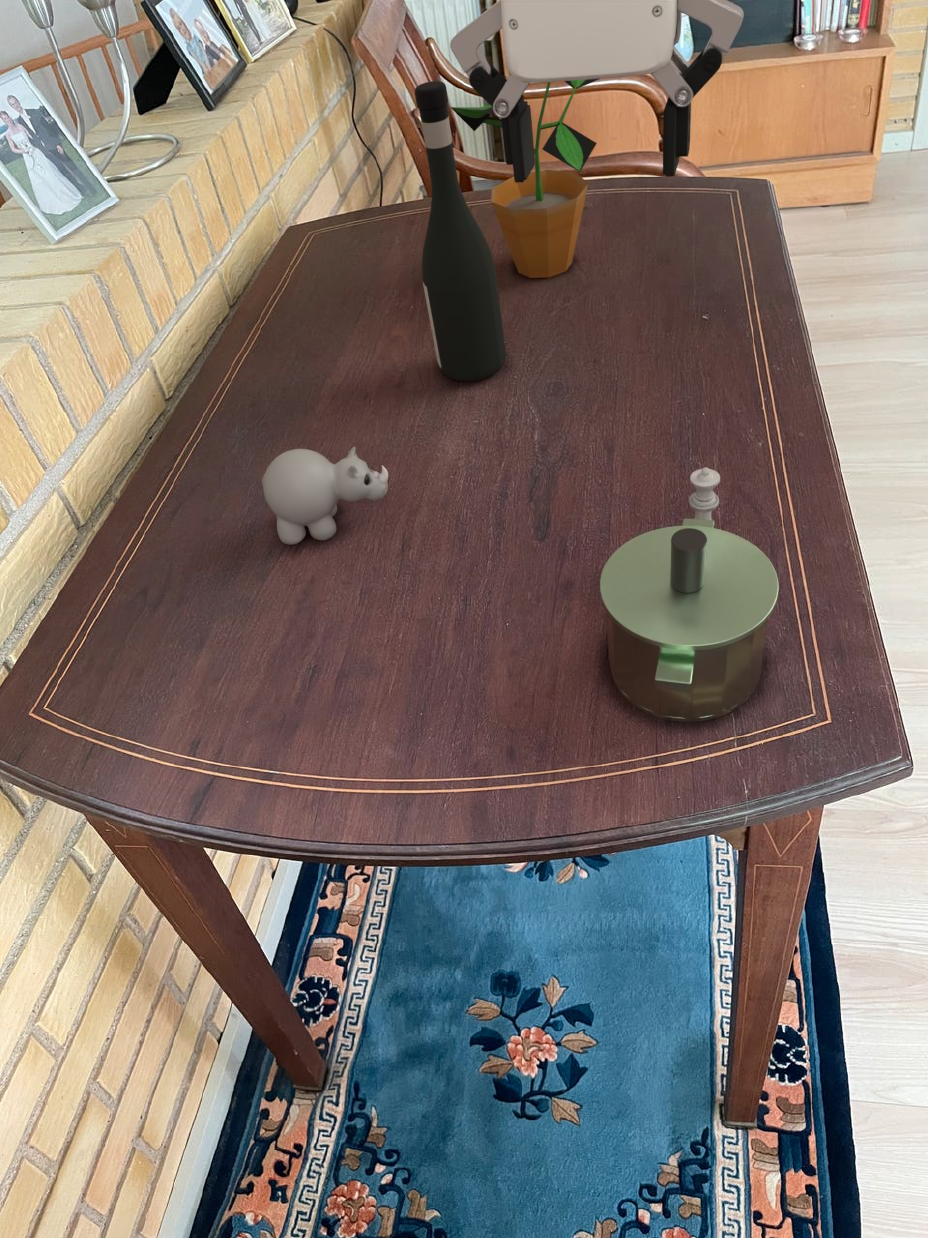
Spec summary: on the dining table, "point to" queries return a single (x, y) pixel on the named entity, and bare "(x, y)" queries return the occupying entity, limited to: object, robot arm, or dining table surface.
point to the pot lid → (689, 587)
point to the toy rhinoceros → (316, 491)
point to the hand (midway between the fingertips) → (596, 171)
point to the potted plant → (541, 195)
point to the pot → (685, 672)
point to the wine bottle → (456, 259)
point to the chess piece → (704, 493)
